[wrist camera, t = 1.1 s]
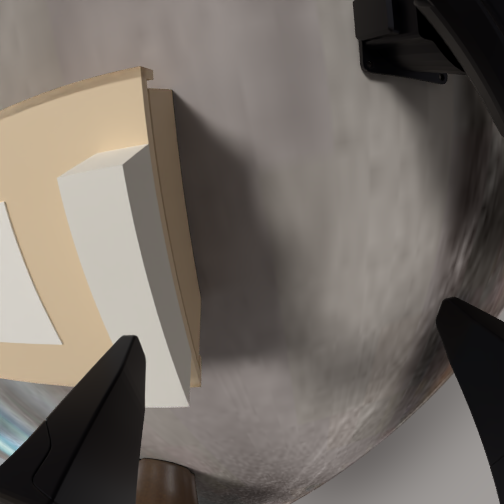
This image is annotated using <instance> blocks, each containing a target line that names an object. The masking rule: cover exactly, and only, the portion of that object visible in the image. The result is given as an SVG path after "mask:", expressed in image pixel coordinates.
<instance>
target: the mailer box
mask: <svg viewBox="0 0 504 504" xmlns="http://www.w3.org/2000/svg"><path fill="white" fill-rule="evenodd" d="M147 90H148V101H149V110H150V119H151V127H152V135H153V143H154V151H155V158H156V165H157V172H158V178H159V185H160V191H161V197H162V203H163V209H164V215H165V220H166V226H167V231H168V236H169V242H170V247H171V252H172V257H173V262H174V266H175V271H176V276H177V281H178V285H179V290H180V294H181V299H182V303H183V307H184V311H185V316H186V320H187V324H188V328H189V332H190V336H191V340H192V344H193V348H194V351H195V355H196V359H197V363H199V342H200V316H201V295H200V290H199V285H198V279H197V273H196V268H195V262H194V256H193V250H192V244H191V237H190V231H189V225H188V218H187V211H186V204H185V197H184V190H183V183H182V175H181V168H180V160H179V151H178V143H177V134H176V125H175V115H174V105H173V94H172V90H169V89H152V88H148V89H147Z"/></svg>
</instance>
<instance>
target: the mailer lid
mask: <svg viewBox="0 0 504 504" xmlns="http://www.w3.org/2000/svg"><path fill="white" fill-rule="evenodd" d="M147 80H153V70H151V69H148V68H144V67H141V66H139V67H134V68H129V69H125V70H120V71H116V72H112V73H108V74H104V75H100V76H96V77H92V78H89V79H85V80H82V81H79V82H75V83H72V84H69V85H66V86H63V87H60V88H57V89H54V90H51V91H48V92H45V93H42V94H40V95H37V96H34V97H32V98H29V99H27V100H24V101H22V102H19V103H17V104H14V105H12V106H10V107H7V108H5V109H3V110H1V111H0V378H3V379H10V380H16V381H24V382H32V383H40V384H50V385H61V386H73V387H75V386H76V384H77V383H78V382H79V381H80V380H81V379H82V378H83V377H84V376H85V375H86V373H87V372H88V371H89V370H90V369H91V368H92V367H93V366H94V365H95V364H96V363H97V362H98V360H99V359H100V358H101V357H102V356H103V355H104V354H105V353H106V352H107V351H108V350H109V349H110V348H111V347H112V345H113V344H114V343H115V342H116V341H117V340H118V339H119V338H120V337H121V336H123V335H136V336H137V337H138V338H139V341H140V343H141V346H142V349H143V351H144V354H145V357H146V381H145V407H189V403H190V387H201V356H200V355H199V363H197V359H196V355H195V351H194V348H193V344H192V340H191V336H190V332H189V328H188V324H187V320H186V316H185V311H184V307H183V303H182V299H181V294H180V290H179V285H178V281H177V276H176V271H175V266H174V262H173V257H172V252H171V247H170V242H169V236H168V231H167V226H166V220H165V215H164V209H163V203H162V197H161V191H160V185H159V178H158V172H157V165H156V158H155V151H154V143H153V135H152V127H151V119H150V110H149V101H148V90H147Z"/></svg>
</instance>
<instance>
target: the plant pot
mask: <svg viewBox="0 0 504 504" xmlns="http://www.w3.org/2000/svg"><path fill="white" fill-rule="evenodd" d="M136 504H198V498H197V491H196V483H195V476H194V474H192V473H190V471H189V469H187V468H185V467H182V466H180V465H177V464H174V463H171V462H167V461H162V460H155V459H146V458H143V459H141V460H139V467H138V479H137V491H136Z"/></svg>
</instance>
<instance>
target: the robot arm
mask: <svg viewBox="0 0 504 504" xmlns="http://www.w3.org/2000/svg"><path fill="white" fill-rule="evenodd" d="M353 10H354V21H355V35H356V38H357V39H358V41H359V50H360V66H361V68H362V70H364V71H365V72H368V73H376V74H384V75H391V76H398V77H405V78H411V79H416V80H422V81H427V82H432V83H437V84H445V83H446V82H447V73H448V74H462V75H467V76H468V77H469V79H470V80H471V82H472V84H473V85H474V87H475V89H476V90H477V92H478V94H479V95H480V97H481V99H482V101H483V102H484V104H485V106H486V108H487V110H488V112H489V114H490V115H491V117H492V119H493V121H494V123H495V125H496V127H497V129H498V130H499V132H500V134H501V136H503V137H504V0H354V1H353ZM368 61H369V62H370V63H371V68H369V67H368V66H367V62H368ZM439 75H441V80H440V78H439ZM436 326H437V329H438V332H439V334H440V337H441V339H442V342H443V345H444V348H445V350H446V353H447V356H448V359H449V362H450V364H451V367H452V369H453V371H454V373H455V376H456V378H457V380H458V382H459V385H460V387H461V389H462V391H463V394H464V396H465V399H466V401H467V404H468V406H469V409H470V411H471V414H472V416H473V419H474V422H475V424H476V427H477V429H478V432H479V435H480V438H481V441H482V444H483V446H484V450H485V453H486V456H487V459H488V462H489V465H490V469H491V472H492V476H493V479H494V482H495V486H496V489H497V494H498V498H499V502H500V504H504V322H503V321H501V320H499V319H497V318H496V317H494V316H492V315H490V314H488V313H486V312H484V311H482V310H480V309H478V308H476V307H474V306H472V305H471V304H469V303H467V302H465V301H463V300H461V299H459V298H457V297H450V298H446V299H444V300H443V301H442V304H441V307H440V309H439V312H438V315H437V317H436ZM145 381H146V357H145V354H144V351H143V349H142V346H141V343H140V341H139V338H138V337H137V336H136V335H123V336H121V337H120V338H119V339H118V340H117V341H116V342H115V343H114V344H113V345H112V347H111V348H110V349H109V350H108V351H107V352H106V353H105V354H104V355H103V356H102V357H101V358H100V359H99V360H98V362H97V363H96V364H95V365H94V366H93V367H92V368H91V369H90V370H89V371H88V372H87V373H86V375H85V376H84V377H83V378H82V379H81V380H80V381H79V382H78V383H77V384H76V386H75V387H74V388H73V389H72V390H71V391H70V392H69V393H68V394H67V396H66V397H65V398H64V399H63V400H62V401H61V402H60V403H59V404H58V406H57V407H56V408H55V409H54V410H53V411H52V412H51V413H50V415H49V416H48V417H47V418H46V420H44V421H43V422H42V424H41V425H40V426H39V427H38V428H37V429H36V430H35V432H34V433H33V434H32V435H31V436H30V437H29V438H28V439H27V440H26V441H25V442H24V443H23V444H22V445H21V446H20V447H19V448H18V449H17V450H16V451H15V452H14V453H13V454H12V455H11V456H10V457H9V458H8V459H7V460H6V461H5V462H4V463H3V464H2V465H1V466H0V504H136V491H137V479H138V467H139V457H140V448H141V439H142V430H143V422H144V413H145Z"/></svg>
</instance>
